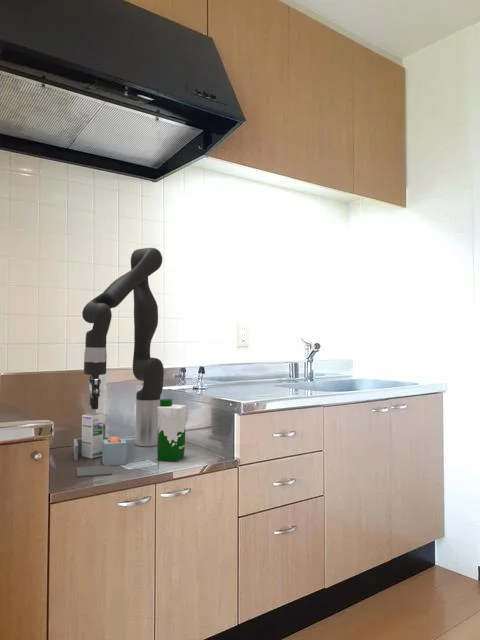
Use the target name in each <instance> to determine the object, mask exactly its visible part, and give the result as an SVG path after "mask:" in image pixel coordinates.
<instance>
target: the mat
mask: <svg viewBox="0 0 480 640" xmlns="http://www.w3.org/2000/svg"><path fill="white" fill-rule="evenodd" d="M101 476H103V477H104V476H105V477H106V476H113V471H112V469H111V465H104V464H103V465H93V466H91V465H90V466H77V467H76V477H77V478H88V477H101Z"/></svg>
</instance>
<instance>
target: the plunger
mask: <svg viewBox="0 0 480 640" xmlns="http://www.w3.org/2000/svg"><path fill="white" fill-rule="evenodd" d="M109 437H110V443H113V442H119V439H120V437H119V436H109Z"/></svg>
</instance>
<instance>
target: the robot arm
mask: <svg viewBox="0 0 480 640" xmlns="http://www.w3.org/2000/svg"><path fill="white" fill-rule="evenodd" d="M162 264H163V255H162V252H161V251H160V250H159V249H158V248H155V247H144V248H139V249H134V251H133V252H132V253H131V257H130V270H129V271H128V272H126V273H124V274H122V275H121V276H119V277H117V278H116V279H115V280H113V282H111V283H110V285H109V286H107V287H106V288H105V290H104V291H103V292H101V294H99V295H97V296H95V297H94V298H93V299H91V300H90V301H89V302H87V303H86V304H85V306H83V309H82V313H81V315H82V318H83V320H84V321H85V322H86V323H88V324H92V329H90V330H88V331H86V333H85V348H84V353H83V355H84V356H83V357H84V359H83V374H84V375H88V376H89V379H88V392H89V405H90V407H91V408H90V409H91V410H98V409H99V399H100V396H101V394H100V393H101V385H102V380H101V378H100V375H101V376H103V375H106V374H107V360H108V359H107V355H108V354H107V353H108V351H107V336H108V332H109V329H110V325H111V321H112V316H113V315H112V314H113V313H112V310H111V309H114V308H117V307H118V306H119V305H120V304H121V303H122V302H123V301H124V300H125V299H126V298H127V296H128V295H129V294H130V293H131V292H132V291H133V293H132V294H133V324H134V325H133V326H134V329H133V330H134V331H133V334H134V335H133V336H134V337H133V338H134V339H133V340H134V343H133V355H132V356H133V359H132V372H133V373H132V374H133V376H134V377H135V379H136V380H138V381H142V382H143V383H142V388H141V389H140V390H138V391H136V393H135V394H136V395H135V437H134V439H135V441H134V442H135V443H134V445H136V446H139V447H155V446H157V443H158V412H157V407H158V406H160V400H161V396H162V392H163V389H164V377H165V376H164V375H165V371H164V370H165V368H164V364H163V362H162V360H161V359H159V358H157V357H151V343H152V340H153V337H154V335H155V334H156V331H157V328H158V324H159V309H158V308H159V306H158V304H157V300H156V299H155V296H154V294H153V293H152V290H151V288H150V284H149V277H150V276H151V275H153V274H155V272H157V271H158V270H159V269H160V268H161V267H162Z"/></svg>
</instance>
